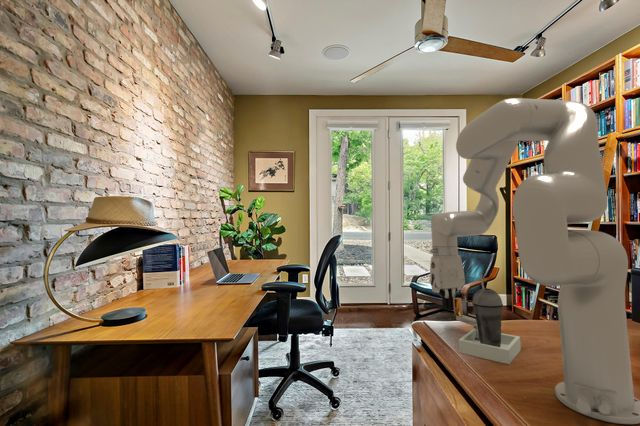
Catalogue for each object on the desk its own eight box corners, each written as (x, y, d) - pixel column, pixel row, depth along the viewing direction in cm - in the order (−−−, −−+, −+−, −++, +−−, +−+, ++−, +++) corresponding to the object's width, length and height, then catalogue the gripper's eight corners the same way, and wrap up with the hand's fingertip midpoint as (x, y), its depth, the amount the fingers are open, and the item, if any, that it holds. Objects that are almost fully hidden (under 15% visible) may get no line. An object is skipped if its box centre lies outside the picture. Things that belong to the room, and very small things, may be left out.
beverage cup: (511, 354, 78) (505, 273, 79) (479, 353, 79) (474, 274, 80) (500, 343, 85) (495, 269, 86) (471, 342, 86) (466, 270, 87)
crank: (496, 328, 89) (494, 305, 90) (483, 331, 87) (482, 307, 88) (461, 317, 101) (460, 296, 101) (449, 320, 99) (448, 298, 100)
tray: (509, 364, 74) (508, 350, 74) (459, 352, 82) (458, 339, 82) (521, 349, 82) (520, 336, 82) (474, 339, 90) (473, 328, 90)
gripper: (432, 254, 93) (436, 315, 93) (472, 250, 98) (476, 309, 97) (417, 252, 101) (421, 309, 100) (455, 249, 105) (458, 304, 104)
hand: (448, 309), depth 99 cm, fingers closed
